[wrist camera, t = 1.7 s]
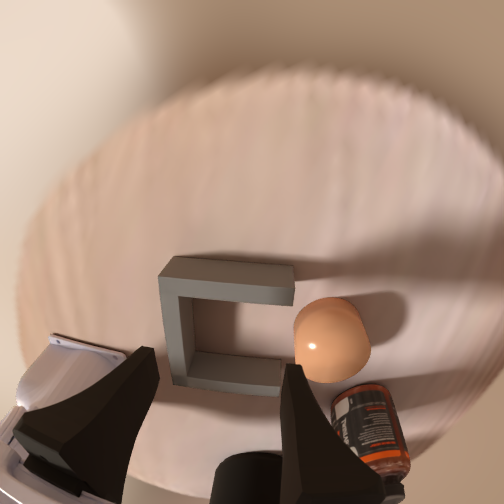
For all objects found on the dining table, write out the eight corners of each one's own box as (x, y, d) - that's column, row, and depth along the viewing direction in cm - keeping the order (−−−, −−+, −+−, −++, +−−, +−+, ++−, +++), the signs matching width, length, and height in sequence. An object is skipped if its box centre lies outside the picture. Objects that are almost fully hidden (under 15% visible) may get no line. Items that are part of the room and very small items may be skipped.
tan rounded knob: (289, 349, 22) (290, 381, 19) (298, 294, 20) (301, 324, 17) (351, 351, 22) (359, 382, 19) (366, 298, 20) (379, 327, 17)
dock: (182, 359, 23) (173, 384, 21) (173, 256, 20) (157, 276, 17) (279, 370, 23) (278, 397, 20) (292, 265, 19) (295, 288, 17)
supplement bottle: (319, 396, 24) (328, 509, 14) (381, 371, 23) (414, 483, 12) (341, 426, 26) (352, 521, 15) (395, 404, 24) (421, 499, 14)
